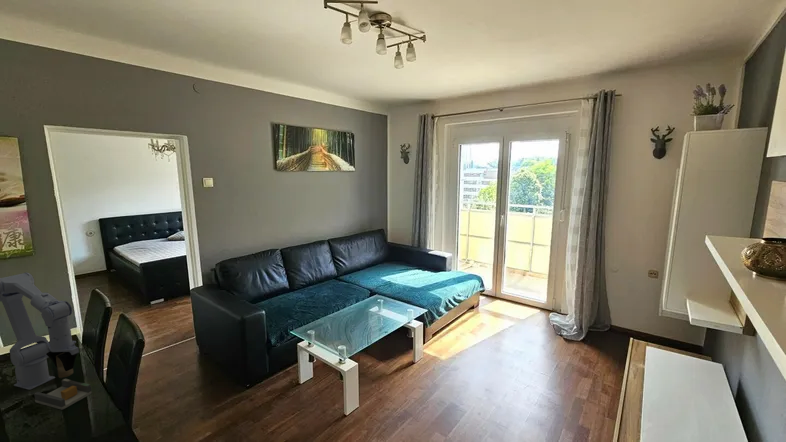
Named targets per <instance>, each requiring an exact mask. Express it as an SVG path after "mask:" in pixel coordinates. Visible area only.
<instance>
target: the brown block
mask: <svg viewBox="0 0 786 442" xmlns="http://www.w3.org/2000/svg"><path fill="white" fill-rule="evenodd" d="M61 354H63V353H61ZM61 354H59V355H61ZM57 356H58V355H57ZM57 356H56V362H57V368H56V370H57V376H58V378H60V379H62V378H63V379H64V378H67V377H69V376H71V375H73V374H74V368H73V369H71V370H68V371H65V369H64V367H63V364H62V362H61V360H60V359H59V358H58V357H57Z"/></svg>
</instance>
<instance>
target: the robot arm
mask: <svg viewBox="0 0 786 442" xmlns="http://www.w3.org/2000/svg"><path fill="white" fill-rule="evenodd" d="M23 297H26V298H27V299H29V300H30V305H31V306H32V307H34V308H35V309H36V310H37V311H38V312H40V313H41V314H40V315H41V317H42V319H43V321H44V324H45V327H47V331H48V337H49V340H48V338H47V337H46V336H42V335H37V334H36V332H35V330H34V326H33V325H32V322H31V319H30V317H29V314H28V311H27V309H26V306H25V304H24V301H23ZM0 302H1V303H2V305H3V308H4V310H5V313H6V315H7V317H8V321H9V323H10V326H11V328H12V330H13V333H14V335H15V336H14V337H15V339H16V342H15V343H14V344H13V345H12V346H11V347H10V348H9V354H10V362H11V363H12V365H13V366H15V369H14V372H15V379H16V383H15V384H13V386H14V387H18V388H21V389H25V390H28V391H29V390H30V391H31V390H32V389H35V388H37V387H39V386H41V385H44V384H45V383H47V382H50V381H52V380H54V379H55V378H56V377H55V376H53V375H50V373H49V367H48V360H47V359H48V358H49V359H50V360H51V362H52V363H53V364H54V366H55V368H56V369H57V362H56V356H57V355H58V356H57V357H58V358H59V359H60V360H61V362H62V364H63V367H64V369H65V371H68V370H71V369H73V370H74V365H75V360H76V358H77V355H78V354H79V353H80V350H79V346H78V347H77V346H76V344H77V341H76V340H73V338H72V336H73V335H72V329H71V323H70V316H71V315H72V314H73V307H72V305H71V304H70V303H69V302H68V301H67V300H59V299H57V298H56V297H55V296H53V295H52V294H51V293H49V292H42V291H41V289H39V287H38V286H36V285H35V279H34V277H33V275H32V274H31V273H29V272H27V271H26V272H23V273H19V274H13V275H10V276H5V277H0ZM61 353H63V354H61ZM59 354H61V355H59Z"/></svg>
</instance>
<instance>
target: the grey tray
mask: <svg viewBox="0 0 786 442" xmlns="http://www.w3.org/2000/svg"><path fill="white" fill-rule="evenodd" d="M71 386H76V387H77V394H76V395H74V396H73V397H71V398H69V399H67V400H65V399H63V398H62V397H61V391H63V390H65V389H67V388H69V387H71ZM33 393H34V392H33ZM91 394H93V392H92V386H91V384H89V383H86V382H79V381H75V380H71V379H68V378H63V379H62V380H61V386H60V387H58V388H56V389H54V390H52V391H49V392H47V393H44V392H43V393H42V392H39V391H37V392H35V393H34V395H33V396H34V402H35V403H37V404H40V405H44V406H47V407H50V408H54V409H59V410H65V409H66V408H68V407H70V406H73V404H75V403H78V402H79V401H81V400H83V399H85V398H86V397H88V396H90V395H91Z"/></svg>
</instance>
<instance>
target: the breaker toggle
mask: <svg viewBox="0 0 786 442" xmlns="http://www.w3.org/2000/svg"><path fill="white" fill-rule="evenodd" d="M76 394H77V387H76V386H71V387H69V388H67V389H65V390H63V391H61V397H62V398H63V399H65V400H67V399H69V398H71V397H73V396H74V395H76Z"/></svg>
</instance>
